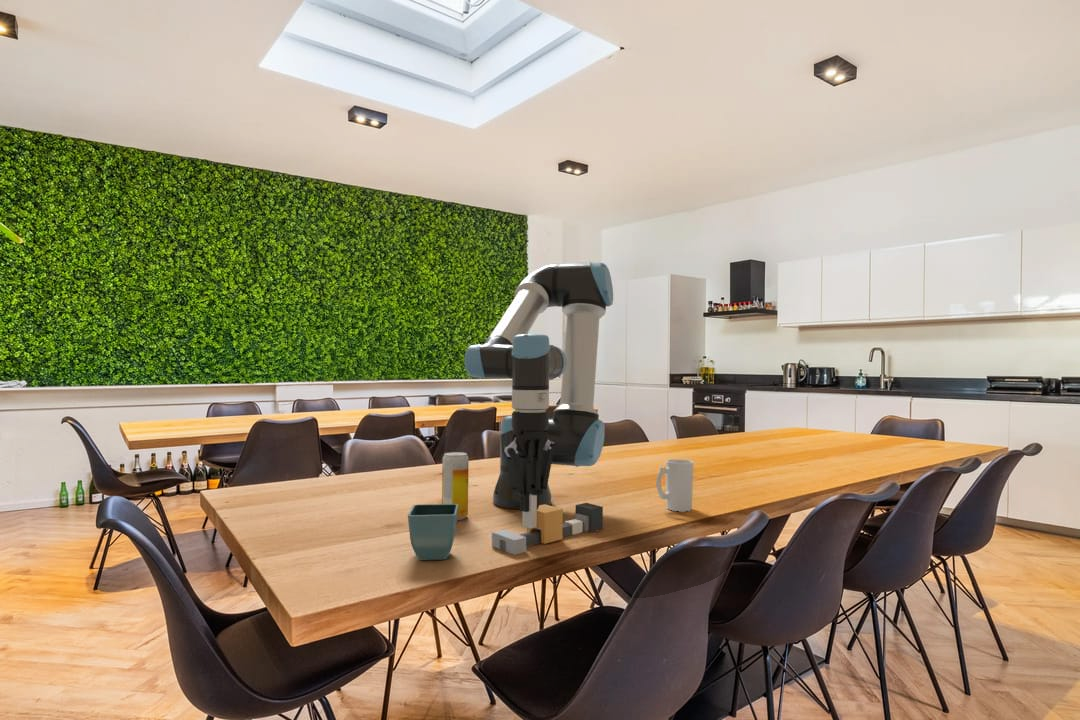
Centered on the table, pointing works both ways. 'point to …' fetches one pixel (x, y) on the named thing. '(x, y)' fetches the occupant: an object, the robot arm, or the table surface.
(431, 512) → the flower pot
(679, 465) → the mug
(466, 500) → the beer can
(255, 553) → the table surface
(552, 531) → the sleeve
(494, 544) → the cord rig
